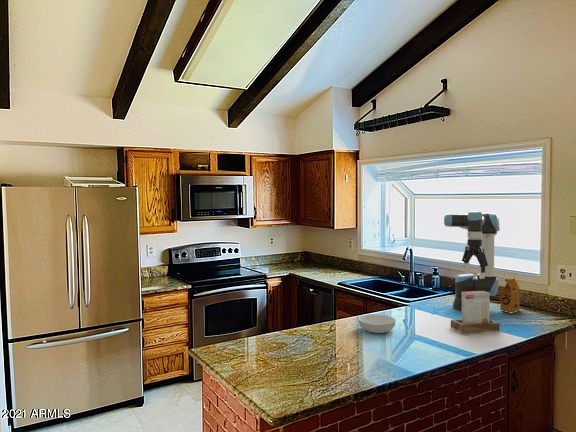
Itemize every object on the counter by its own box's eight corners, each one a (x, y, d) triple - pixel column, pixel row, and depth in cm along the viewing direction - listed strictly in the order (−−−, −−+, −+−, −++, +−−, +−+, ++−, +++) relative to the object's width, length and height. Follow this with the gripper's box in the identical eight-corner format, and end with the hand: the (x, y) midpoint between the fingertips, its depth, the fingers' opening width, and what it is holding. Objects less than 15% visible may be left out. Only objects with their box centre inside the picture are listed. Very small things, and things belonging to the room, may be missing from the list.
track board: (450, 328, 259) (450, 319, 259) (484, 325, 264) (484, 317, 263) (464, 335, 246) (464, 325, 246) (499, 332, 251) (499, 323, 251)
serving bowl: (353, 333, 251) (353, 321, 251) (364, 324, 269) (364, 312, 269) (390, 338, 241) (390, 326, 241) (399, 328, 260) (399, 316, 260)
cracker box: (484, 326, 259) (484, 290, 258) (490, 329, 253) (490, 292, 252) (460, 327, 257) (461, 291, 256) (466, 330, 251) (466, 293, 250)
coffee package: (497, 311, 297) (497, 278, 296) (507, 308, 304) (507, 276, 303) (512, 314, 289) (512, 280, 288) (522, 311, 296) (522, 278, 295)
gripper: (455, 237, 265) (455, 272, 266) (482, 241, 241) (482, 280, 242) (467, 236, 267) (466, 272, 268) (495, 240, 242) (494, 279, 243)
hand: (474, 276), depth 255 cm, fingers open, 13 cm apart
